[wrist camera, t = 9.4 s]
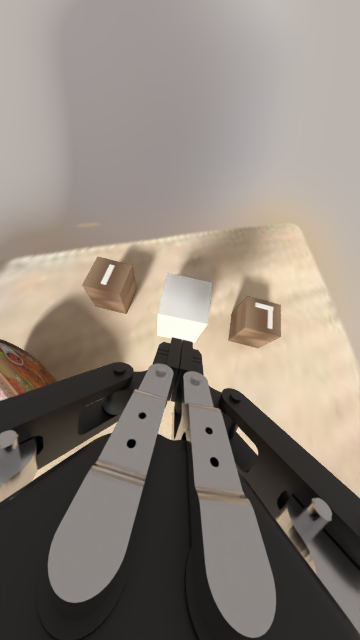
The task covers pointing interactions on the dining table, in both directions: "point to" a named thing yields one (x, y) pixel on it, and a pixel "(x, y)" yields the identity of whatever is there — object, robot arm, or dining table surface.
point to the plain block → (184, 307)
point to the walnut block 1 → (110, 284)
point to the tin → (20, 371)
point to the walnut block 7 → (255, 322)
